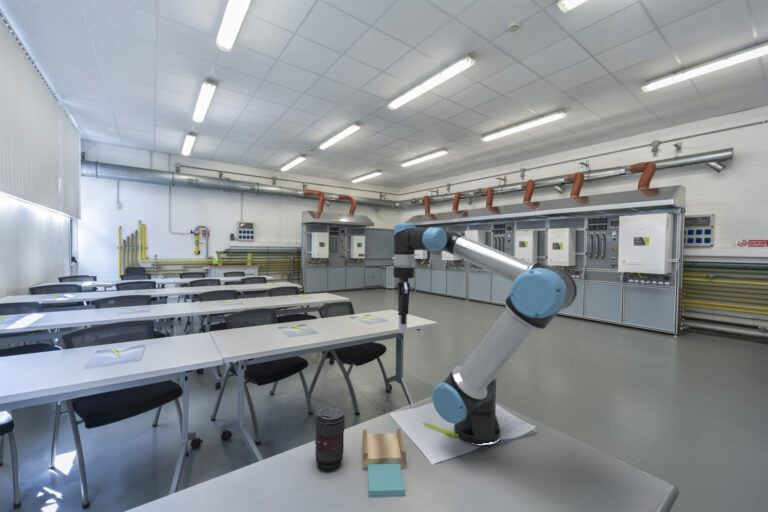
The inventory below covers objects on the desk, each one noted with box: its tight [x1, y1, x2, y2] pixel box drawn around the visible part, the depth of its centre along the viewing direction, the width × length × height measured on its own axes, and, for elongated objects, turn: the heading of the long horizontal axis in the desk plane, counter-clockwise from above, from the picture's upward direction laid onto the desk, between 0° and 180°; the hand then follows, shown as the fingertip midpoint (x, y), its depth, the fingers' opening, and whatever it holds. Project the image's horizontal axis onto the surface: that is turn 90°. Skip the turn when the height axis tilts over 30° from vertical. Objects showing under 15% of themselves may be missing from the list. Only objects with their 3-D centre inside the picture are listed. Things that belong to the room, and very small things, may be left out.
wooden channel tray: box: [361, 428, 407, 470], centre depth 94 cm, size 12×12×4 cm
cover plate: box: [367, 464, 406, 498], centre depth 83 cm, size 9×10×2 cm
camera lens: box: [314, 405, 346, 473], centre depth 90 cm, size 8×8×15 cm
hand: (402, 332), depth 113 cm, fingers closed
